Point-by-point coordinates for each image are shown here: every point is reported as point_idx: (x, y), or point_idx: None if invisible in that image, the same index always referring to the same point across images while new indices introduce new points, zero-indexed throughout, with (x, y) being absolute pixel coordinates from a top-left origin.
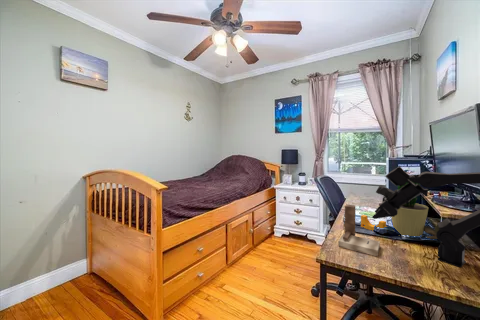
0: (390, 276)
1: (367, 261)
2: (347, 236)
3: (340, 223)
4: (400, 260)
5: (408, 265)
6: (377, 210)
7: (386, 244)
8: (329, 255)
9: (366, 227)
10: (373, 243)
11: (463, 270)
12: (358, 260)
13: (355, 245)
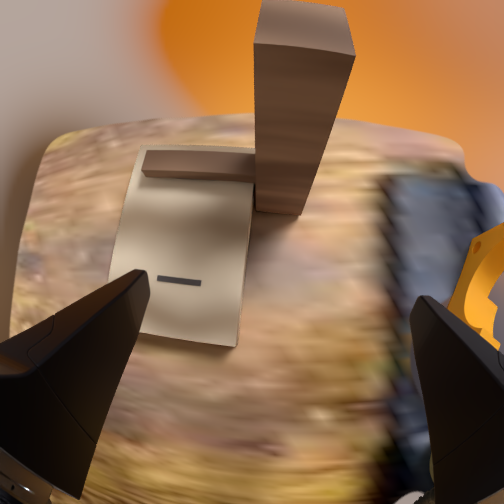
0: None
1: (61, 281)
2: (162, 166)
3: (448, 147)
4: (127, 415)
5: (101, 431)
6: (430, 328)
7: (293, 377)
8: (67, 154)
9: (467, 265)
10: (182, 309)
11: None
12: (57, 249)
13: (120, 220)
